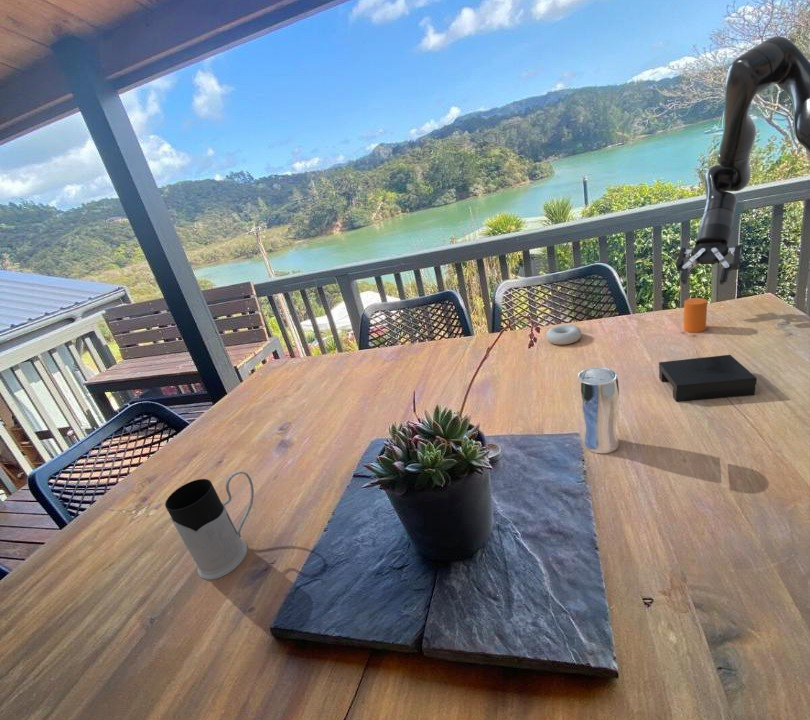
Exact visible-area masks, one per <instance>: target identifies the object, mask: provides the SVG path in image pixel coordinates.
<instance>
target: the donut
mask: <svg viewBox="0 0 810 720" xmlns="http://www.w3.org/2000/svg"><path fill="white" fill-rule="evenodd" d="M545 338H546V340H547V341H548V343H550V344H553V345H558V346H562V345H563V346H564V345H571V344H573V343H576V342H578V341H579V340H580V339H581V338H582V329H580V327H578V326H576V325H573V324H559V325H556V326H552V327H550V328H549V329H548V330H547V331H546V333H545Z"/></svg>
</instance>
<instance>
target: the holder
mask: <svg viewBox="0 0 810 720" xmlns="http://www.w3.org/2000/svg"><path fill="white" fill-rule="evenodd" d="M241 474H244V476H245V477H246V479H248V483H249V488H250V497H249V503H248V504H247V507H246V510H245V512H244V515H243V516H242V519H241V521H240V523H239V525H238V527H237V528H236V526H235V524H234V523H233V520H232V518H231V516H230V515H229V512H228V510H227V509H226V505H228V504H229V503H230V502H231V501H232V494H231V493H232V492H231V490H230V482H231V480H232V479H233V478H234V477H235V476H237V475H241ZM225 491H226V493H227V496H228V497H227V499H226V500H225V501H223V502H222V501H221V499H220V497H219V495H218V492H217V491H216V489H215V487H214V485H213V483H212V481H211V480H210V479H207V478H199V479H194V480H191V481H189V482H187V483H185V484H184V485H181V486H180V487H178V488H177V489H175V490H174V491H173V492H171V494H170V495H169V496H168V497H167V498H166V500H165V504H164V507H165V509H166V511H167V512H168V514H169V516H170V520H171V522H172V524H173V525H174V527H175V529H176V531H177V533H178V534H179V536H180V538H181V539H182V542H183V544H184V545H185V547H186V549H187V550H188V552H189V553H190V555H191V557H192V559H193V561H194V562H195V564H196V566H197V574H198V576H199V577H200V578H201V579H203V580H207V581H211V580H217V579H220V578H222V577H225V576H226V575H228V574H230V573H231V572H233V571H234V570H235V569H236V568H238V566H240V564H241V563H242V562H243V561H244V559H245V558H246V555H247V553H248V545H247V543H246V541H244V539H242V534H241V531H242V529H243V526H244V524H245V522H246V520H247V518H248V516H249V513H250V510H251V508H252V507H253V503H254V497H255V496H254V495H255V494H254V493H255V490H254V483H253V481H252V478H251V476H250V475H249V474H248V473H247V472H245V471H243V470H238V471H235V472H233V473H231V474H230V475H229V476H228V477H227V479H226V482H225Z"/></svg>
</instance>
